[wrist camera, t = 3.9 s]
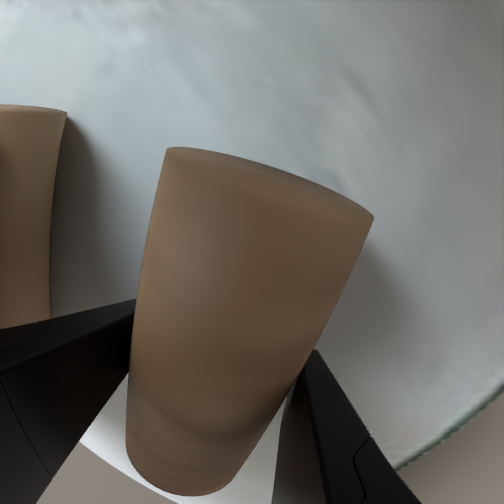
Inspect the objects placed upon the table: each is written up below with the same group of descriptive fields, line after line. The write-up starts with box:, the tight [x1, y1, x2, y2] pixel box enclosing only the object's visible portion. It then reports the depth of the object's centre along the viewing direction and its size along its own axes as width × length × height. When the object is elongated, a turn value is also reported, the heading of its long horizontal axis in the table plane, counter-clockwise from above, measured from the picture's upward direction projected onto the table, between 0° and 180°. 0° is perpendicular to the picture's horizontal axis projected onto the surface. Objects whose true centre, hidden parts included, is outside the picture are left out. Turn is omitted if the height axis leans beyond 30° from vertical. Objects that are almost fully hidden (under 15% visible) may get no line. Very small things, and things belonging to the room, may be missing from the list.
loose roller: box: [126, 147, 374, 496], centre depth 7 cm, size 4×9×4 cm, turn 162°
